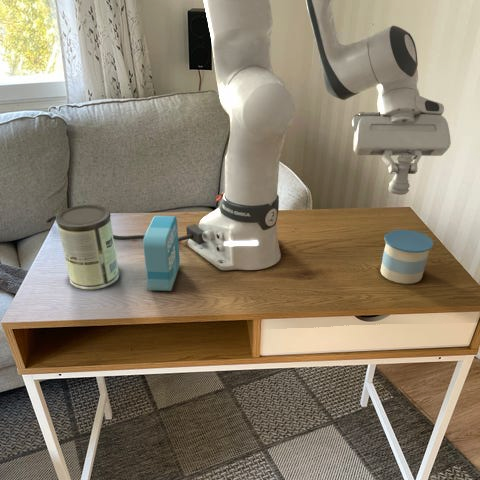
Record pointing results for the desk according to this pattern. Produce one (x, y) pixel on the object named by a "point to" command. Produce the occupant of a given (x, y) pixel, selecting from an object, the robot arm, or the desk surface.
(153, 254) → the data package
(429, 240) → the yogurt tub
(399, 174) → the rook chess piece
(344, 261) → the desk surface
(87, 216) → the coffee can
